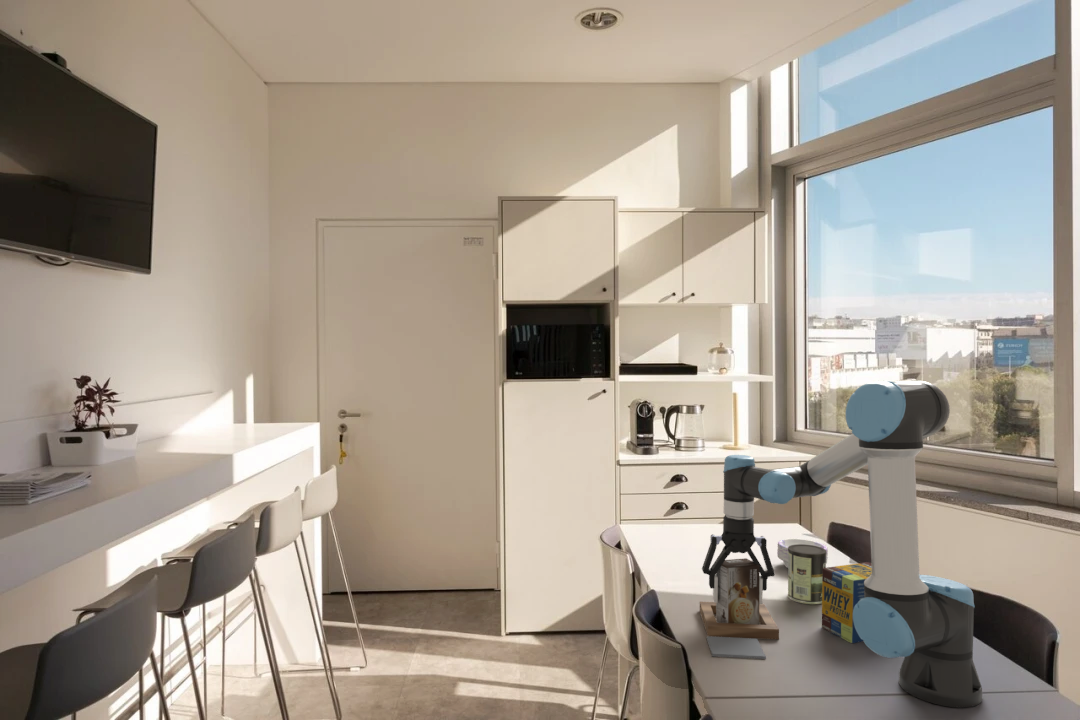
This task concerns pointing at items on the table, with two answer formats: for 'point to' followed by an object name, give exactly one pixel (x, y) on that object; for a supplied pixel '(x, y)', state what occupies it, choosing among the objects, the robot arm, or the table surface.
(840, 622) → the protein box
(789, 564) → the coffee can
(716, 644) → the rubber mat
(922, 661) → the robot arm
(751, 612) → the coffee box
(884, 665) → the table surface
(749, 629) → the pocket block
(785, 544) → the paper bowls
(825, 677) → the table surface
